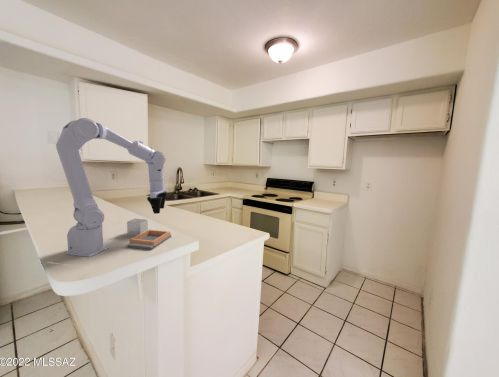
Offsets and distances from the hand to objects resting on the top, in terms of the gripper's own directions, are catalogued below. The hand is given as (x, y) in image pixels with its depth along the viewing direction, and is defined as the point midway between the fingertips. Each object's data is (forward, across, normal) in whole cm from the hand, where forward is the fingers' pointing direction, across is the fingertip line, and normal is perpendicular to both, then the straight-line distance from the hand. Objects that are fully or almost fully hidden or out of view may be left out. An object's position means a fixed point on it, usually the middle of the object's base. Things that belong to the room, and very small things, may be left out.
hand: (159, 210), depth 90 cm
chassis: (+10, -10, +1) cm, 14 cm away
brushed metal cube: (+10, -1, +9) cm, 14 cm away
